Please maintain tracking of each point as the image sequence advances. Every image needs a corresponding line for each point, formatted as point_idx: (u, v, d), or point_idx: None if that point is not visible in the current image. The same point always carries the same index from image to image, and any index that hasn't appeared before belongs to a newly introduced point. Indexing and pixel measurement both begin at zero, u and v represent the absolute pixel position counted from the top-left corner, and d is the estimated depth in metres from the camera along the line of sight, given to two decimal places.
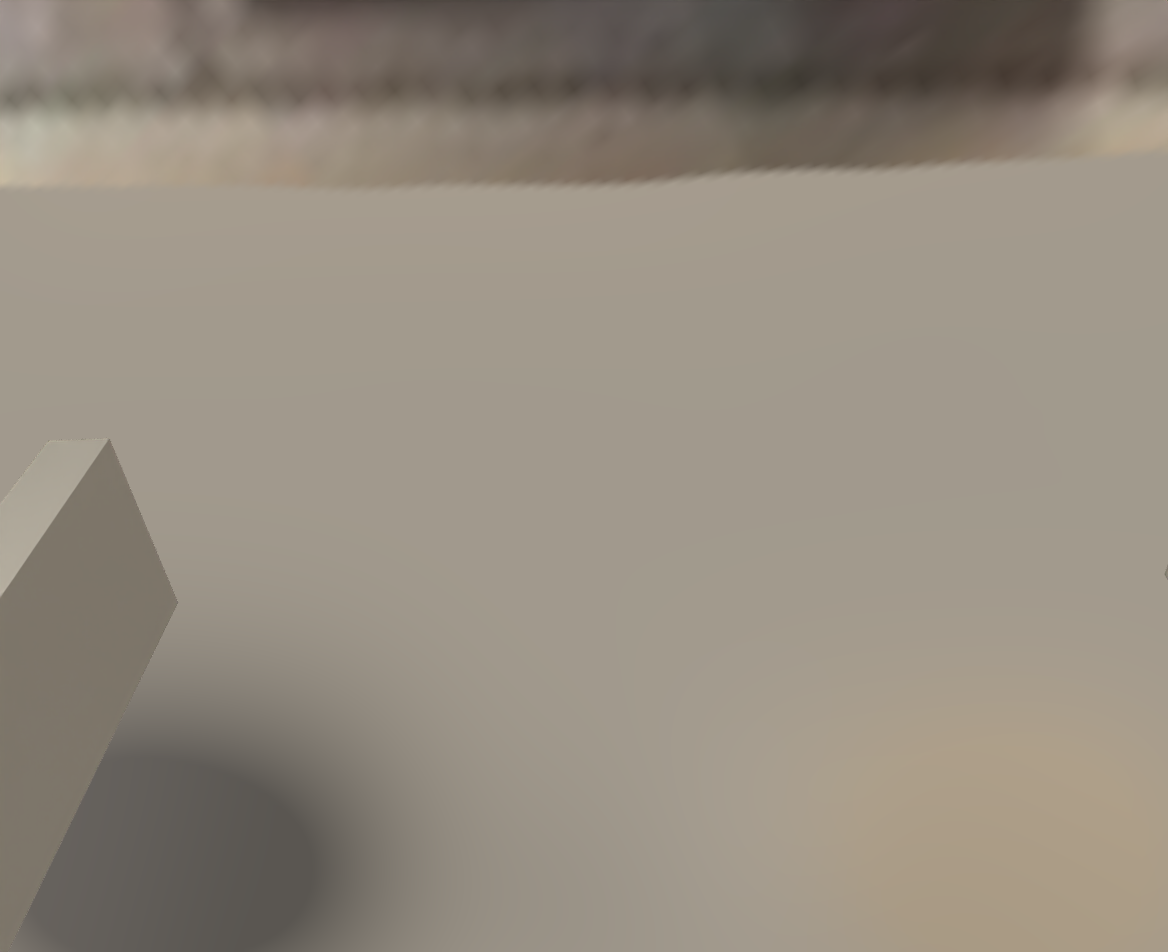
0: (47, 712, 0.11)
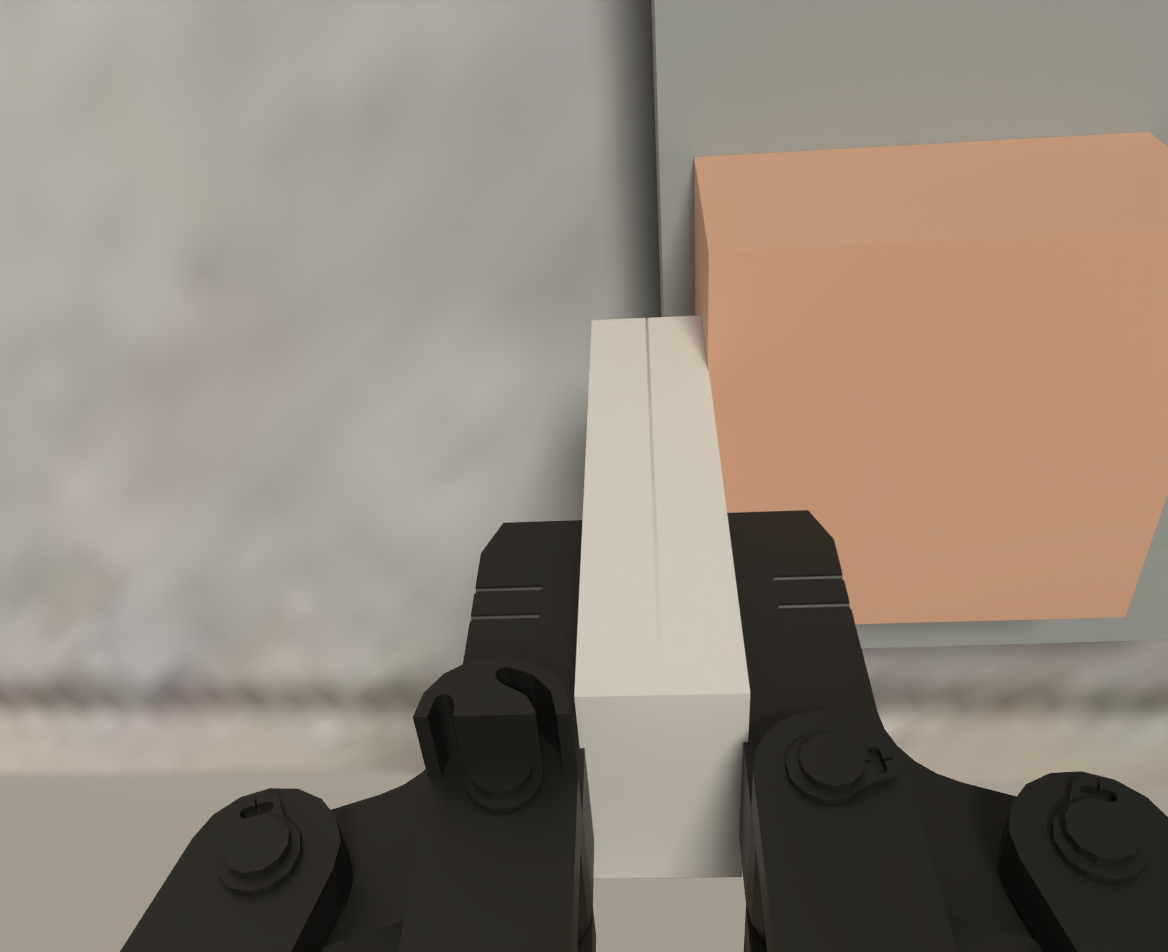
0: None
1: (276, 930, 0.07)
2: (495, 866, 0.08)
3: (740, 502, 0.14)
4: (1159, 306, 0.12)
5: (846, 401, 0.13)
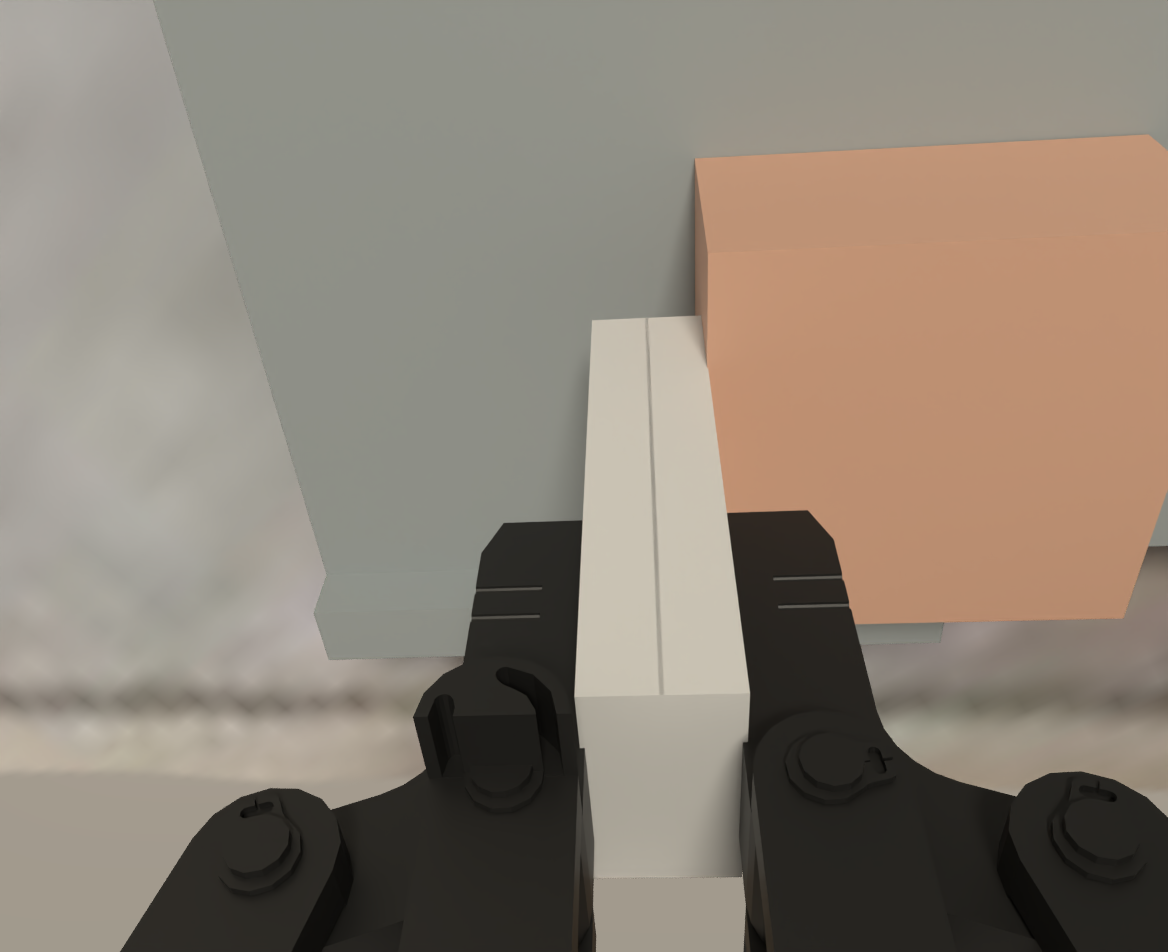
0: None
1: (276, 930, 0.07)
2: (494, 866, 0.08)
3: (738, 503, 0.14)
4: (1157, 308, 0.12)
5: (844, 402, 0.13)
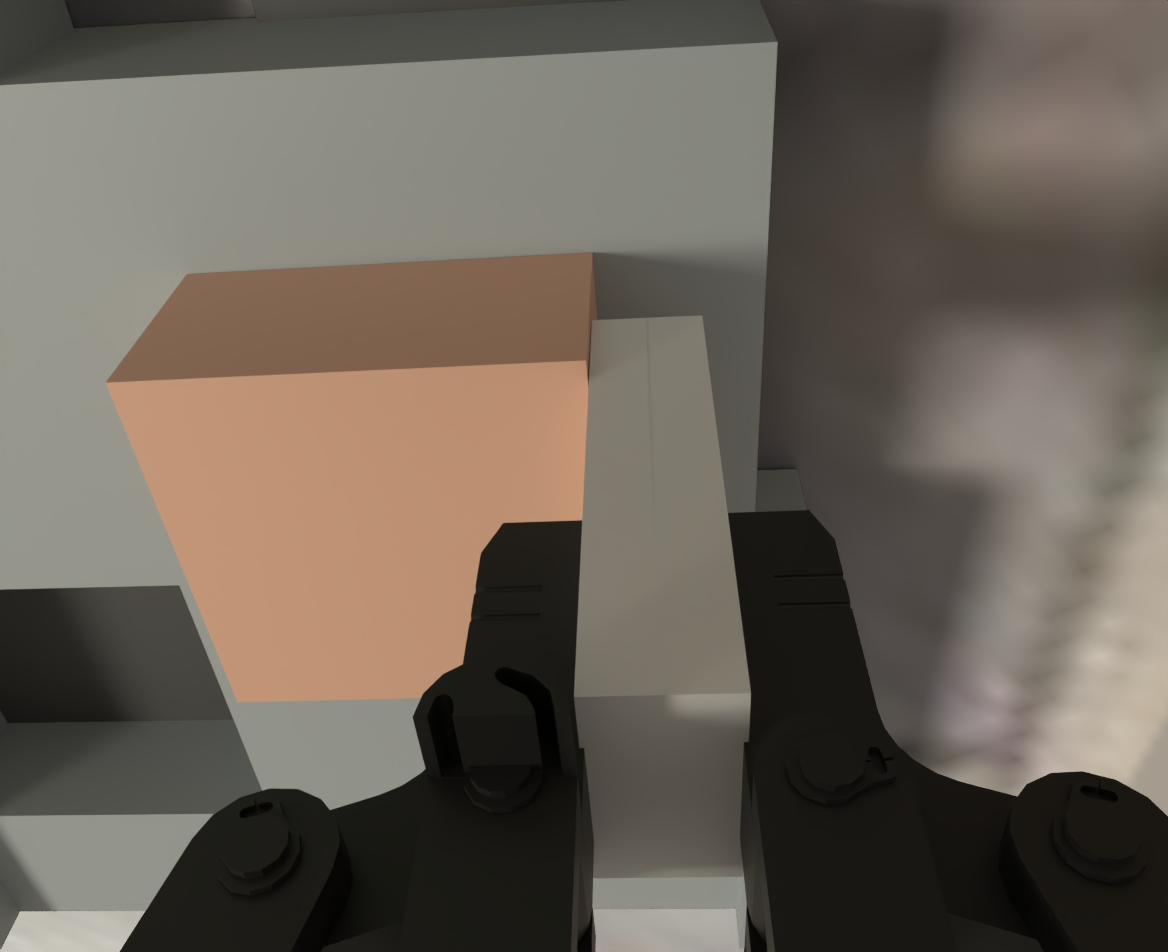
0: None
1: (275, 930, 0.07)
2: (494, 866, 0.08)
3: None
4: (199, 433, 0.13)
5: (343, 622, 0.15)
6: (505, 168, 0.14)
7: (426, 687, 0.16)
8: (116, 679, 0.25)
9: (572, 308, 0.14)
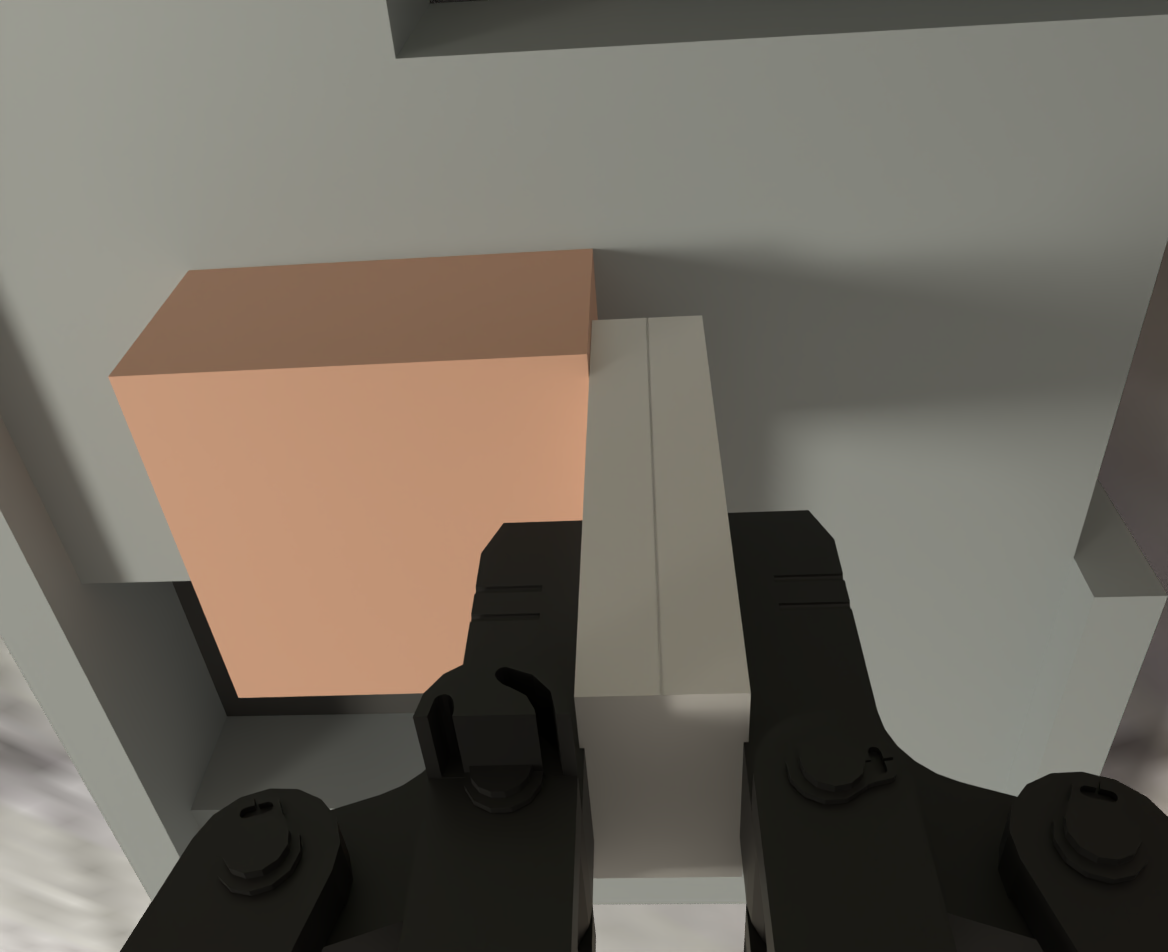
0: None
1: (276, 930, 0.07)
2: (495, 866, 0.08)
3: None
4: (202, 427, 0.13)
5: (344, 617, 0.15)
6: (920, 143, 0.14)
7: (427, 682, 0.16)
8: None
9: (573, 303, 0.14)
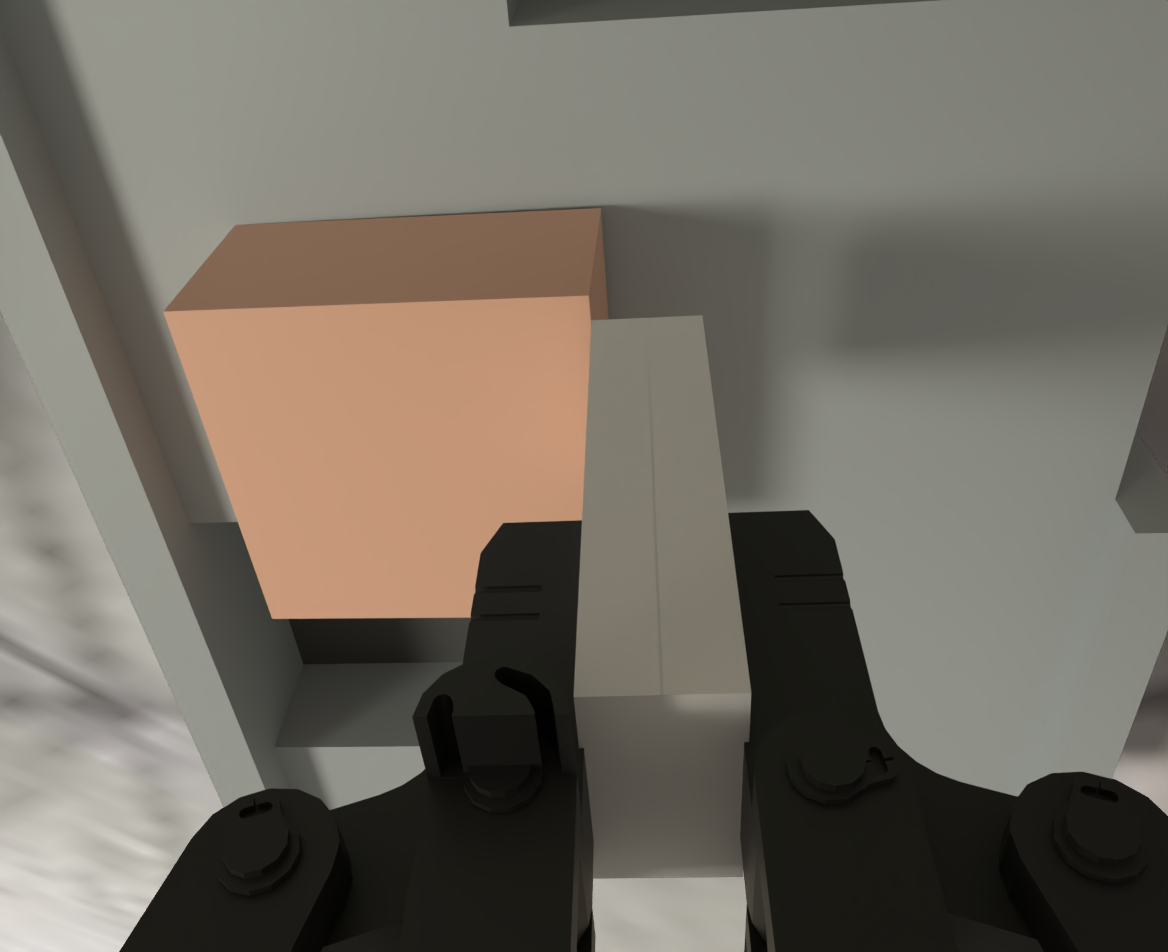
0: None
1: (275, 930, 0.07)
2: (494, 867, 0.08)
3: None
4: (245, 360, 0.15)
5: (369, 542, 0.17)
6: (982, 103, 0.15)
7: (443, 607, 0.18)
8: (418, 620, 0.26)
9: (579, 253, 0.15)
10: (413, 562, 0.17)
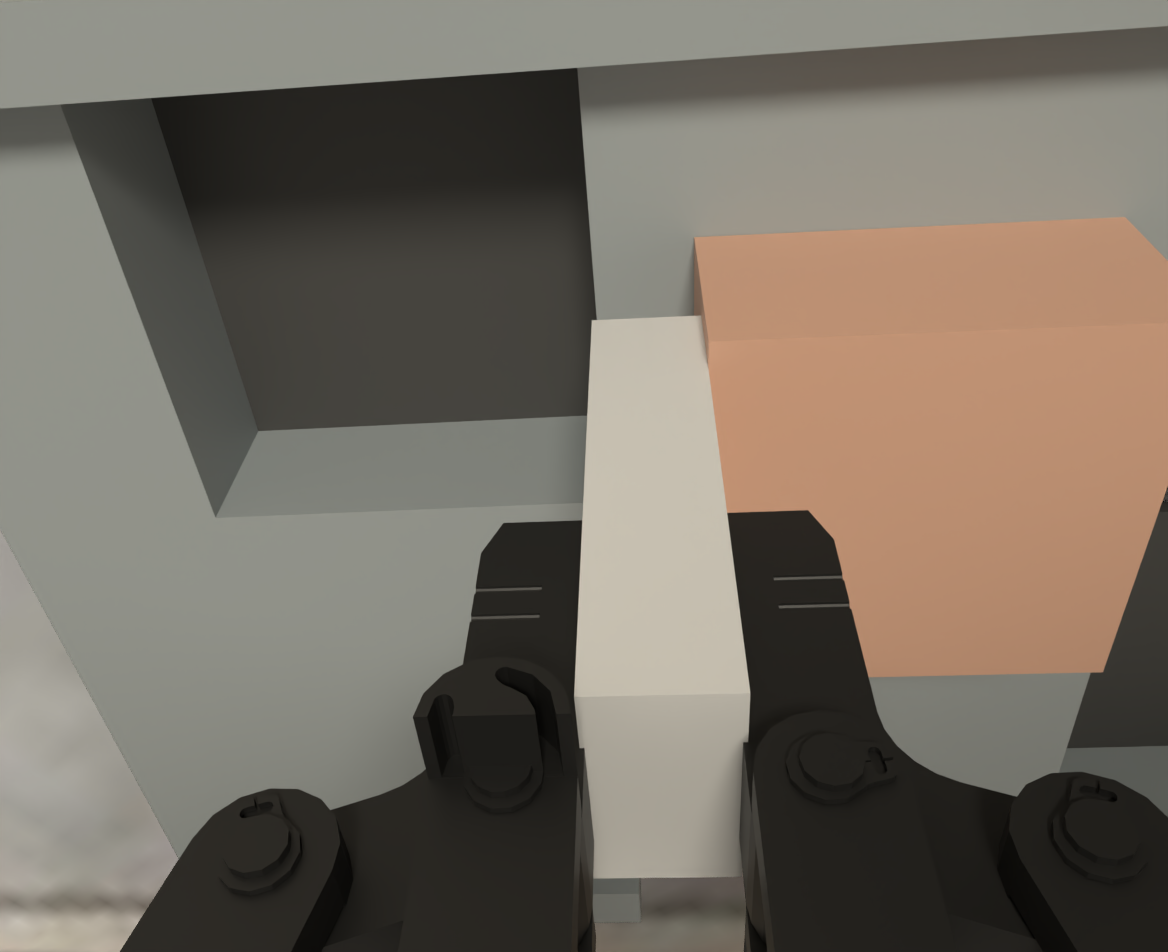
0: None
1: (276, 930, 0.07)
2: (494, 866, 0.08)
3: None
4: (1132, 392, 0.13)
5: (837, 476, 0.14)
6: (994, 746, 0.21)
7: None
8: (279, 227, 0.18)
9: None
10: None
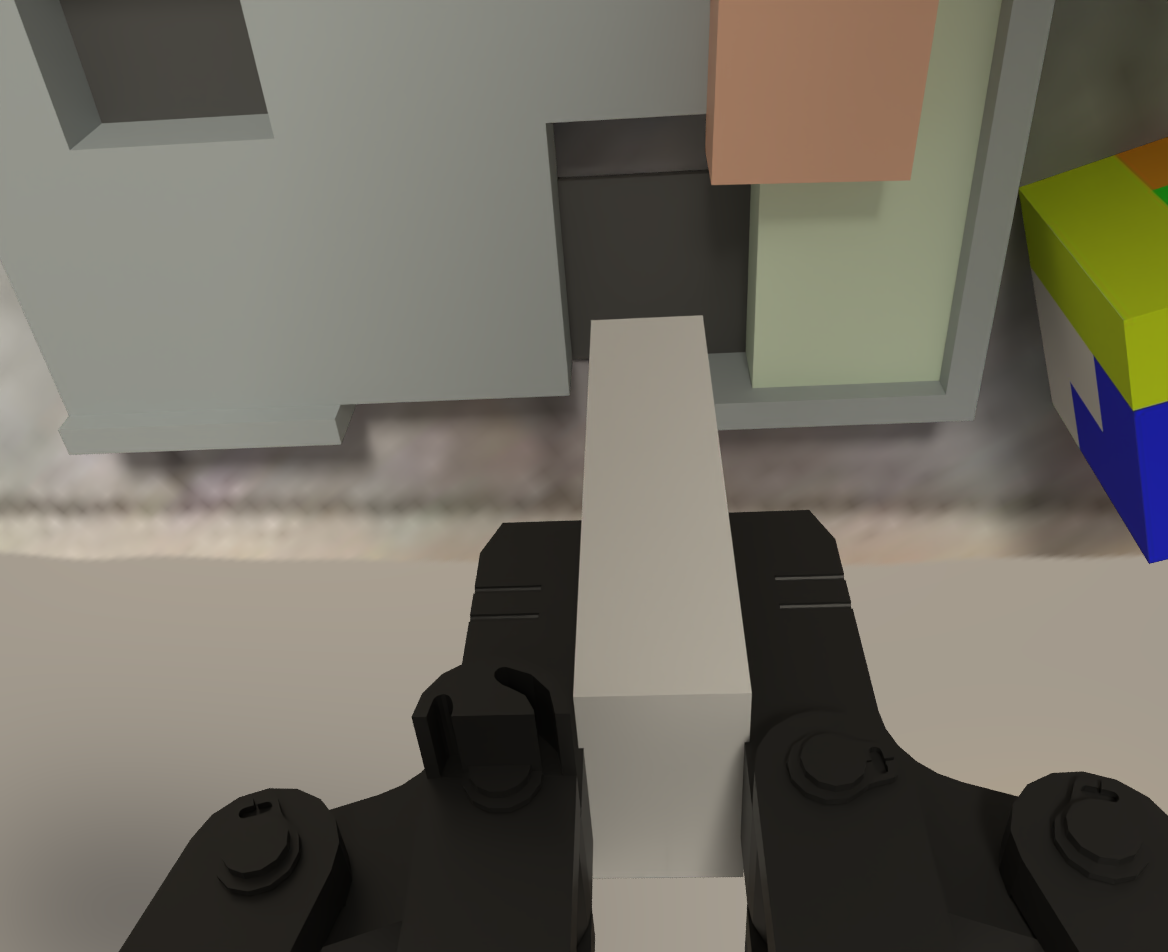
0: None
1: (274, 930, 0.07)
2: (493, 866, 0.08)
3: (729, 106, 0.30)
4: (908, 2, 0.28)
5: (777, 49, 0.29)
6: (522, 313, 0.38)
7: (724, 87, 0.30)
8: None
9: None
10: (760, 74, 0.30)
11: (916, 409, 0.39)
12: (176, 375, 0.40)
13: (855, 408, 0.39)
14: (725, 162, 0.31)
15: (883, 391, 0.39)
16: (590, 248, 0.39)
